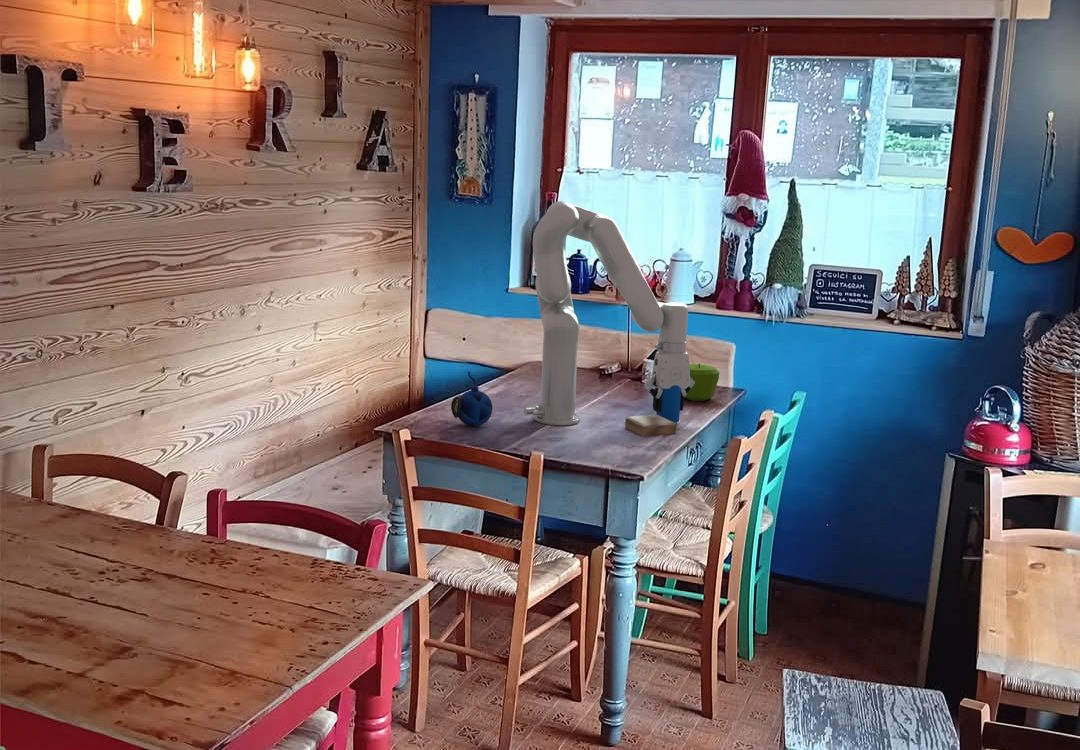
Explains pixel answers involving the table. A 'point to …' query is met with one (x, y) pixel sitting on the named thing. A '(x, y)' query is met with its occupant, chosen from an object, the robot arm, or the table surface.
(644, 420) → the pedestal
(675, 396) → the beverage can
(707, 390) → the apple
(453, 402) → the bomb
